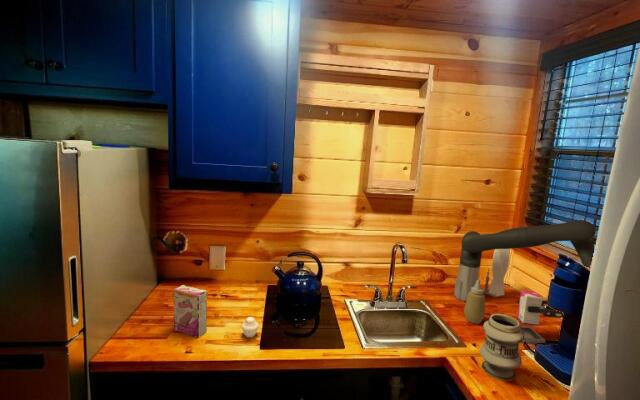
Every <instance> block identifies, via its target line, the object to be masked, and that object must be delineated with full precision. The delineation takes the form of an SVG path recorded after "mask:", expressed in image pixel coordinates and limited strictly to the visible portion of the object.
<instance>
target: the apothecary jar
mask: <svg viewBox="0 0 640 400" xmlns="http://www.w3.org/2000/svg"><path fill="white" fill-rule="evenodd" d="M520 326H521V324H520V321H518V320H517V319H516V318H515V317H512V316H510V315H507V314H501V313H494V314H491V315H490V316H489V319H488V320H486V321H485V322H484V323H483V325H482V328H483V332H484V333H485V341H484V343H482V345H481V346H480V349H479V353H480V356H481V357H482V359H483V360H484V361H483V362H482V363H481V368H482V369H483V370H484V373H486V374H487V375H489V376H490V377H492V378H494V379H497V380H500V381H506V382H508V381H513V380H514V379H516V372H515V371H514V370H515V369H518V368H520V366H522V362H523V360H522V356H521V355H520V352H519V346H520V344H521V342H522V341H523V340H524V333H523V331H522V329H521V328H520Z"/></svg>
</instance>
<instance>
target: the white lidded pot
mask: <svg viewBox="0 0 640 400" xmlns="http://www.w3.org/2000/svg"><path fill="white" fill-rule="evenodd" d="M259 326H260V324H259V323H258V321H256V318H255V317H254V316H253V317H252V316H250V317H249V316H248V317H246V318H245V321H244V322H243V323H242V324H241V330H242V333H243V334H244V335H245V337H246V338H249V337H250V338H253V337H255V335H256V333H257V332H258V330H259V328H260V327H259Z"/></svg>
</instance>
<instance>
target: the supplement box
mask: <svg viewBox="0 0 640 400" xmlns="http://www.w3.org/2000/svg"><path fill="white" fill-rule="evenodd" d="M519 298H520V303H518V311H517V319H518V320H519V322H520V323H521V324H522V325H528V326H529V325H530V326H536V327H537V326H539V324H540V317H541V314H539V313H531V312H528V311H527V309H528V306H535V307H541V305H542V300H544V299H543V297H542V296H541V295H540V294H539V293H538V292H536V291H535V292H534V291H527V290H521V292H520V297H519Z"/></svg>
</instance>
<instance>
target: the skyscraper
mask: <svg viewBox="0 0 640 400" xmlns="http://www.w3.org/2000/svg"><path fill="white" fill-rule="evenodd" d="M510 250H511V249H494V250H493V251H494V252H493V256H492V263H491V274H492V279H491V281H490V269H489V268H488V271H486V272H487V273H486V274H487V275H486V277H485V284H484V289H483V294H486V295H488V296H491V297H493V298H500V297H505V283H504V279H505V276H506V274H507V273H508V269H509V265H510V257H511V256H510V253H511V252H510ZM489 281H490V286H489Z"/></svg>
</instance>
